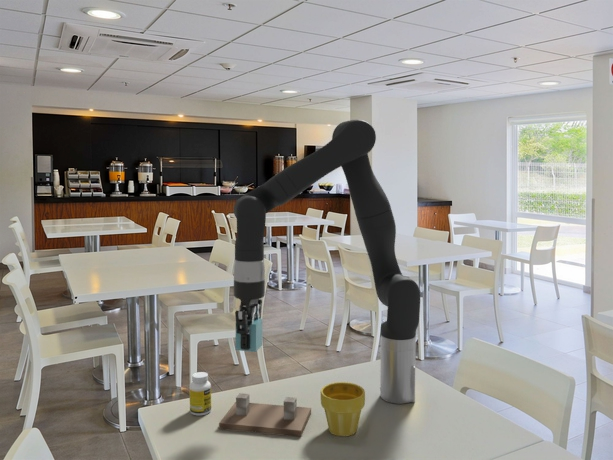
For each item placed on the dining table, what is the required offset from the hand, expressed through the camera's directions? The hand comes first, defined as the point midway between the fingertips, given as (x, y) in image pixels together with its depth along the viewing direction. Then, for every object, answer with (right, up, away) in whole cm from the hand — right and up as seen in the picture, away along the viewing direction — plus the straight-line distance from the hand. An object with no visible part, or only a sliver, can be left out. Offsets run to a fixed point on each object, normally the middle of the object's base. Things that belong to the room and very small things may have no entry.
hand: (249, 345), depth 133 cm
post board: (+4, -19, -1) cm, 19 cm away
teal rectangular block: (0, -1, 0) cm, 1 cm away
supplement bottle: (-13, -18, +5) cm, 23 cm away
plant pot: (+23, -19, -6) cm, 30 cm away
